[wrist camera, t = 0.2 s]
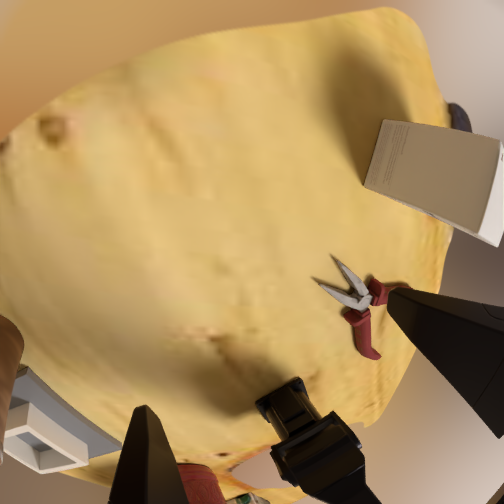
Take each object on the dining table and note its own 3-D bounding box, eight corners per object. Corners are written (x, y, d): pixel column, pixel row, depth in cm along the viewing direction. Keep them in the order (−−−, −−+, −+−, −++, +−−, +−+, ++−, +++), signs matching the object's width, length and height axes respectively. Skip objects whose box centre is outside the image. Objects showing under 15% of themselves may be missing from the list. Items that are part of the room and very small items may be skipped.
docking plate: (121, 442, 27) (125, 468, 24) (44, 462, 24) (44, 484, 21) (28, 366, 19) (21, 398, 16) (-39, 399, 16) (-46, 423, 13)
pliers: (355, 220, 27) (373, 229, 25) (414, 294, 38) (426, 303, 36) (284, 311, 28) (296, 327, 26) (367, 354, 39) (377, 365, 37)
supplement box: (360, 187, 25) (477, 235, 15) (382, 116, 23) (502, 136, 13) (402, 206, 29) (498, 250, 18) (420, 145, 27) (520, 173, 16)
